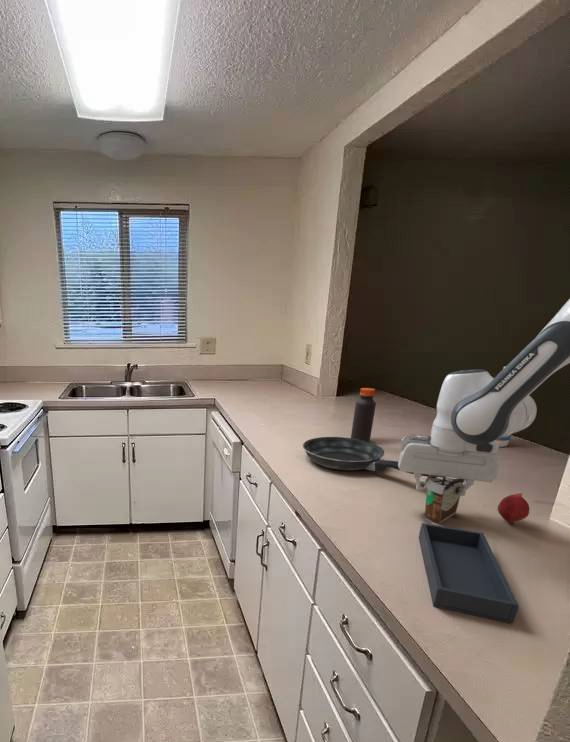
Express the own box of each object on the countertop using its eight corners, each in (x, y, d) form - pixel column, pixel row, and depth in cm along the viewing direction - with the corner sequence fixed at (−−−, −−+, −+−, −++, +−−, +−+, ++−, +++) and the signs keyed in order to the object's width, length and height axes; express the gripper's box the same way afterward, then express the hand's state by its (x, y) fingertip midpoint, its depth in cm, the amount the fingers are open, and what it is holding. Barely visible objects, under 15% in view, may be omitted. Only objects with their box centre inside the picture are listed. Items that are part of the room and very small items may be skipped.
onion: (499, 526, 103) (508, 495, 100) (491, 515, 108) (499, 486, 105) (529, 529, 101) (538, 498, 98) (518, 518, 106) (527, 488, 104)
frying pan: (285, 456, 150) (287, 438, 147) (337, 445, 160) (340, 427, 158) (400, 506, 113) (405, 483, 111) (458, 487, 124) (463, 465, 121)
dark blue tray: (479, 547, 94) (483, 532, 93) (513, 624, 72) (519, 605, 71) (418, 537, 99) (421, 522, 97) (433, 606, 77) (437, 588, 75)
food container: (432, 503, 115) (439, 468, 112) (458, 511, 110) (466, 474, 107) (409, 516, 108) (416, 479, 105) (436, 525, 103) (443, 486, 100)
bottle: (354, 444, 162) (362, 391, 155) (347, 438, 168) (354, 387, 161) (372, 444, 161) (381, 390, 154) (365, 438, 168) (373, 387, 161)
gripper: (403, 437, 103) (393, 490, 108) (507, 447, 95) (491, 503, 100) (401, 430, 109) (392, 481, 113) (500, 439, 101) (485, 493, 106)
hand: (439, 491), depth 107 cm, fingers closed on food container, 7 cm apart
